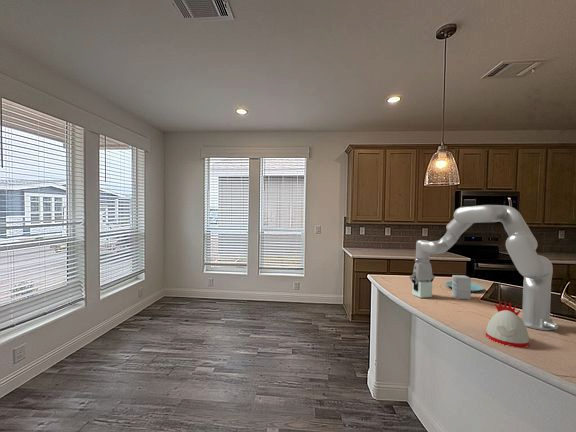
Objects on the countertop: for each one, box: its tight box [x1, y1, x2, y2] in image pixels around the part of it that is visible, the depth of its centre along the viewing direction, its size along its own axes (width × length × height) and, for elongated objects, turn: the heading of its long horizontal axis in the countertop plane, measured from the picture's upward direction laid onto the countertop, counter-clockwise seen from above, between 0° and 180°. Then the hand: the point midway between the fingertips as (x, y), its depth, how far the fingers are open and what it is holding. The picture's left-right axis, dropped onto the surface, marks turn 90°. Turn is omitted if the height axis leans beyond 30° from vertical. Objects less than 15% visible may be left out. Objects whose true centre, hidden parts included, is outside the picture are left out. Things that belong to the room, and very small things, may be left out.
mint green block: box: [411, 280, 433, 299], centre depth 175 cm, size 8×8×9 cm
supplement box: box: [451, 274, 472, 300], centre depth 174 cm, size 7×7×13 cm
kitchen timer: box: [485, 301, 530, 348], centre depth 117 cm, size 14×14×15 cm
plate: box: [444, 280, 485, 293], centre depth 194 cm, size 22×22×3 cm
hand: (421, 289), depth 175 cm, fingers closed on mint green block, 7 cm apart
